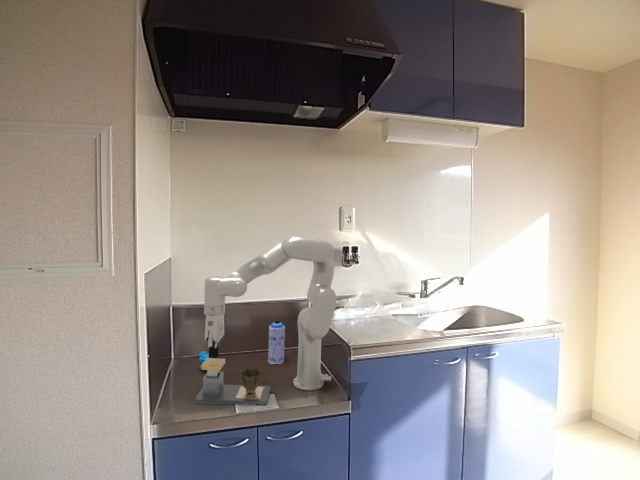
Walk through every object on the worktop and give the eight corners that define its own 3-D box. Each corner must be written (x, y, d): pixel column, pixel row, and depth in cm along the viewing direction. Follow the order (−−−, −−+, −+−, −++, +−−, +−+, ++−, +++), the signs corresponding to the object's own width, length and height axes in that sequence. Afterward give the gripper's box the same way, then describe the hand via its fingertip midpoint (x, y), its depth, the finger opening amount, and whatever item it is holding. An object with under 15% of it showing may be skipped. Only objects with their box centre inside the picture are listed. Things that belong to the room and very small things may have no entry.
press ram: (225, 378, 136) (225, 358, 135) (220, 387, 129) (220, 366, 128) (206, 378, 136) (207, 358, 135) (201, 386, 129) (201, 365, 128)
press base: (270, 389, 139) (271, 369, 138) (266, 405, 127) (266, 383, 126) (204, 387, 139) (205, 367, 138) (194, 403, 127) (194, 381, 126)
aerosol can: (287, 359, 169) (288, 319, 168) (279, 365, 162) (280, 323, 161) (273, 356, 172) (274, 316, 171) (264, 362, 165) (265, 320, 164)
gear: (211, 370, 150) (197, 352, 152) (201, 380, 150) (187, 361, 152) (222, 364, 161) (208, 347, 163) (212, 372, 161) (199, 355, 163)
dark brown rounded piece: (262, 387, 137) (262, 367, 136) (259, 397, 129) (259, 376, 129) (242, 387, 136) (243, 367, 136) (238, 396, 129) (239, 375, 129)
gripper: (219, 315, 123) (217, 365, 124) (229, 304, 138) (228, 350, 139) (197, 314, 123) (196, 365, 124) (210, 304, 138) (209, 349, 139)
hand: (213, 357), depth 132 cm, fingers closed
